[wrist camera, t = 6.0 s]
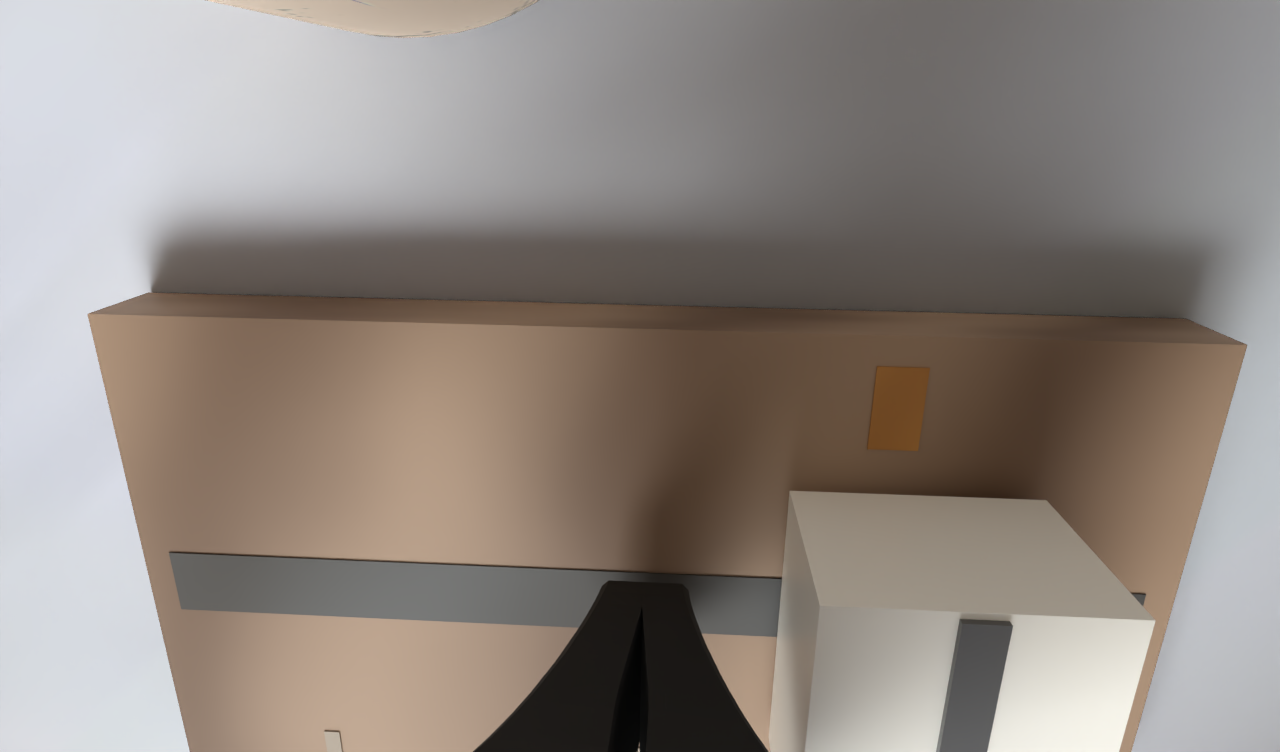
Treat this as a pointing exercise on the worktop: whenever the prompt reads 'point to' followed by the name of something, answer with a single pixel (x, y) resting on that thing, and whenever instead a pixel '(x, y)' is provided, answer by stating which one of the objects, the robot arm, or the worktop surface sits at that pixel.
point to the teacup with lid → (390, 14)
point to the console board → (589, 480)
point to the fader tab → (949, 629)
